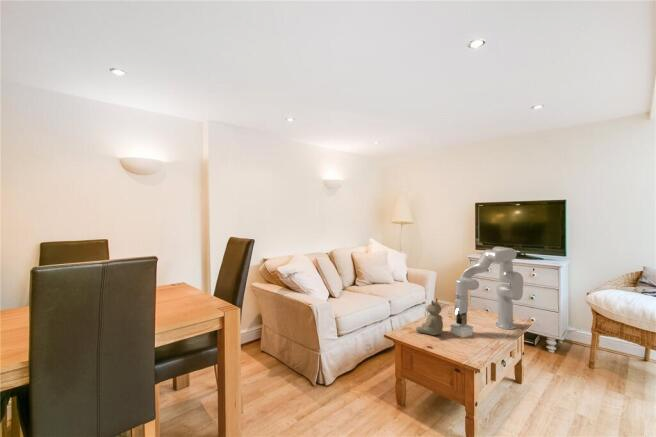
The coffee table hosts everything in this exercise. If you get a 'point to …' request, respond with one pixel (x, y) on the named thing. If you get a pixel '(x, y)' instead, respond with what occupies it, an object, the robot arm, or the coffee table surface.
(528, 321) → the coffee table surface
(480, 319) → the coffee table surface
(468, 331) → the pale grey box
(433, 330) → the grey cat statue
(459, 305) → the robot arm
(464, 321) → the walnut block
